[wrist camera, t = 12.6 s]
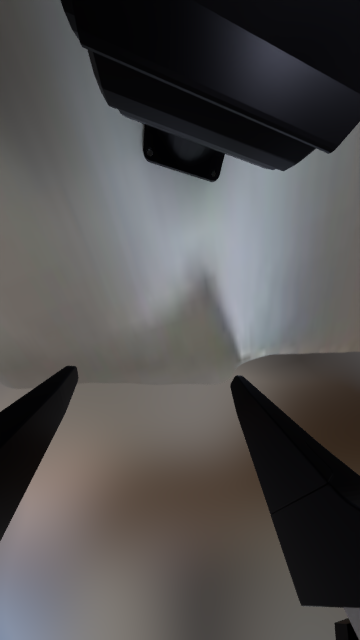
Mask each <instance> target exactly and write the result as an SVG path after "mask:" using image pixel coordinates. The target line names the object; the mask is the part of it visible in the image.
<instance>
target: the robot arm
mask: <svg viewBox="0 0 360 640" xmlns="http://www.w3.org/2000/svg"><path fill="white" fill-rule="evenodd" d="M61 3H62V6H63V9H64V12H65V14H66V16H67V19H68V21H69V23H70V25H71V28H72V30H73V32H74V33H75V35H76V36H77V38H78V39H79V40H80V43H81V45H82V47H83V48H86V49H87V50H88V53H89V57H90V61H91V64H92V68H93V72H94V75H95V78H96V80H97V83H98V85H99V88H100V91H101V93H102V95H103V96H104V98H105V100H106V102H107V103H108V105H109V106H110V107H113V108H116V109H118V110H119V111H120V113H121V114H122V115H124V116H125V117H127V118H130V119H132V120H135V121H138V122H140V123H143V124H145V131H144V146H143V152H144V157H145V159H146V160H147V161H148V162H151V163H154V164H157V165H160V166H163V167H166V168H169V169H173V170H176V171H179V172H182V173H185V174H188V175H191V176H194V177H198V178H201V179H204V180H207V181H210V182H214V181H216V180H217V179H218V178H219V175H220V171H221V167H222V163H223V159H224V155H225V154H227V155H230V156H233V157H235V158H238V159H241V160H243V161H246V162H249V163H251V164H254V165H257V166H260V167H262V168H266V169H271V170H275V169H278V170H281V171H285V170H287V169H288V168H290V167H292V166H294V165H296V164H297V163H299V162H300V161H301V160H303V159H304V158H305V157H306V156H308V155H309V154H310V153H311V152H312V151H314V150H315V149H316V148H317V149H319V150H321V151H324V152H326V153H328V154H329V153H331V152H333V151H334V150H335V149H336V148H337V147H338V146H339V145H340V144H341V142H342V141H343V140H344V139H345V138H346V137H347V136H348V134H349V133H350V132H351V131H352V130H353V129H354V127H355V126H356V125H357V124H358V123H359V122H360V0H61ZM149 149H150V150H152V152H153V155H152V156H148V155H147V151H148V150H149ZM212 171H215V173H216V176H215V177H212V175H211V172H212ZM77 382H78V372H77V367H76V366H66V367H64V368H63V369H61V370H60V371H59V372H57V373H56V374H54V375H53V376H51V377H50V378H49V379H47V380H46V381H44V382H43V383H41V384H40V385H38V386H37V387H36V388H34V389H33V390H31V391H30V392H28V393H27V394H25V395H24V396H23V397H21V398H20V399H18V400H17V401H15V402H14V403H13V404H11V405H10V406H8V407H7V408H5V409H4V410H2V411H1V412H0V541H1V539H2V537H3V535H4V533H5V531H6V529H7V527H8V525H9V523H10V521H11V519H12V517H13V515H14V513H15V511H16V509H17V507H18V505H19V503H20V501H21V499H22V497H23V495H24V493H25V492H26V490H27V488H28V486H29V484H30V482H31V480H32V478H33V476H34V474H35V472H36V470H37V468H38V466H39V464H40V462H41V460H42V458H43V456H44V454H45V452H46V450H47V448H48V446H49V444H50V442H51V440H52V438H53V436H54V434H55V432H56V431H57V428H58V426H59V425H60V423H61V421H62V419H63V417H64V415H65V413H66V410H67V408H68V405H69V402H70V400H71V397H72V395H73V392H74V389H75V387H76V384H77ZM231 391H232V396H233V399H234V404H235V408H236V412H237V416H238V419H239V421H240V425H241V428H242V430H243V434H244V437H245V440H246V443H247V445H248V448H249V452H250V455H251V458H252V461H253V463H254V466H255V469H256V472H257V475H258V478H259V481H260V484H261V487H262V490H263V493H264V496H265V499H266V502H267V505H268V508H269V511H270V514H271V517H272V520H273V524H274V527H275V529H276V532H277V535H278V538H279V541H280V544H281V548H282V550H283V553H284V556H285V559H286V562H287V565H288V568H289V571H290V574H291V577H292V580H293V583H294V586H295V589H296V592H297V595H298V598H299V601H300V603H301V605H302V606H316V607H343V608H344V610H345V612H346V614H347V616H348V618H347V619H345V620H342V621H338V622H336V623H335V634H336V640H360V476H359V475H358V474H357V473H355V472H354V471H353V470H352V469H350V468H349V467H348V466H347V465H345V464H344V463H343V462H342V461H340V460H339V459H338V458H337V457H335V456H334V455H333V454H331V453H330V452H329V451H328V450H327V449H325V448H324V447H323V446H322V445H321V444H319V443H318V442H317V441H316V440H315V439H313V438H312V437H311V436H310V435H309V434H308V433H307V432H306V431H304V430H303V429H302V428H301V427H300V426H299V425H298V424H296V423H295V422H294V421H293V420H292V419H291V418H290V417H288V416H287V415H286V414H285V413H284V412H283V411H282V410H281V409H279V408H278V407H277V406H276V405H275V404H274V403H273V402H271V401H270V400H269V399H268V398H267V397H266V396H265V395H264V394H262V393H261V392H260V391H259V390H258V389H257V388H256V387H254V386H253V385H252V384H251V383H250V382H249V381H248V380H246V379H245V378H244V377H243V376H238V375H237V376H235V377H234V379H233V381H232V383H231Z"/></svg>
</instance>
